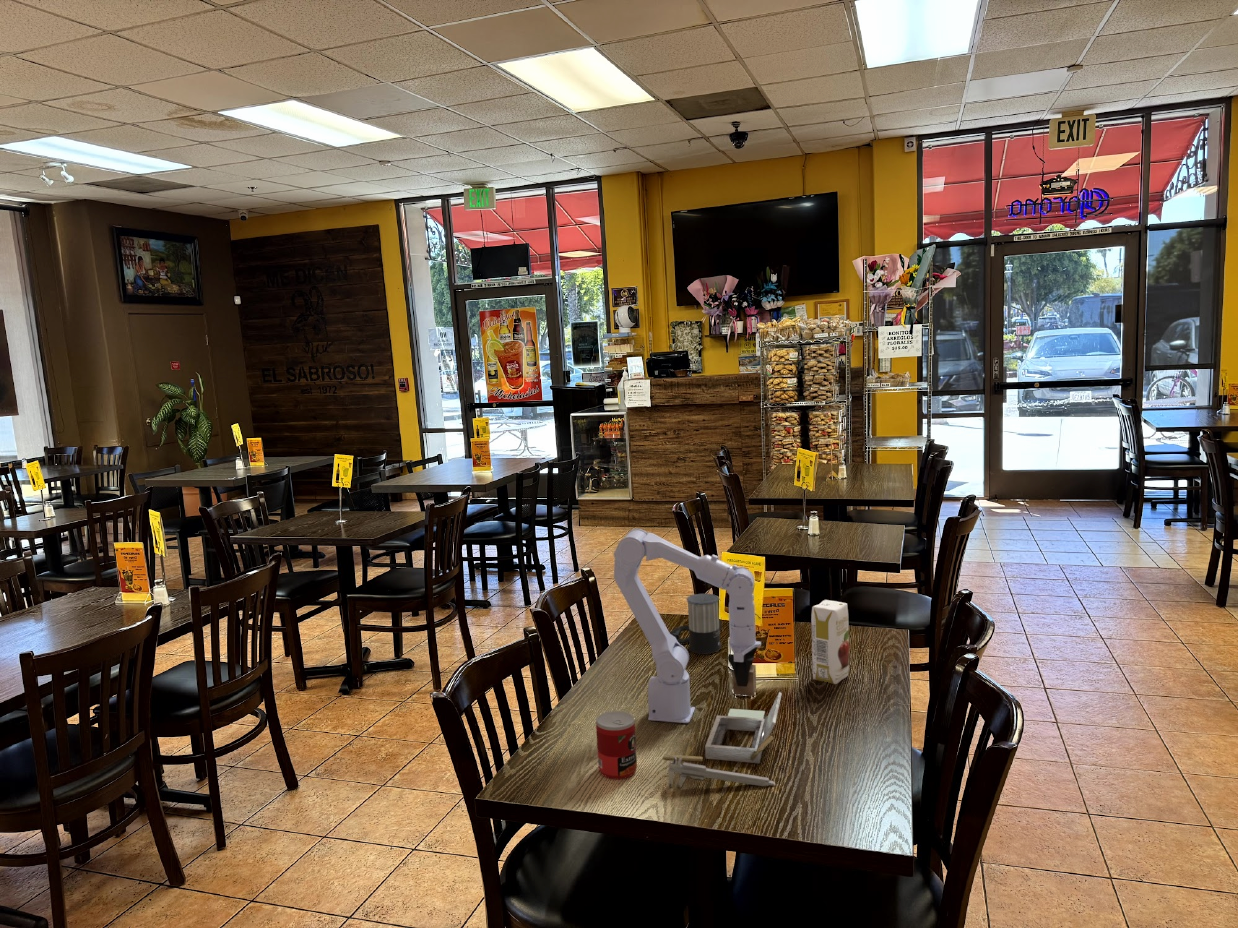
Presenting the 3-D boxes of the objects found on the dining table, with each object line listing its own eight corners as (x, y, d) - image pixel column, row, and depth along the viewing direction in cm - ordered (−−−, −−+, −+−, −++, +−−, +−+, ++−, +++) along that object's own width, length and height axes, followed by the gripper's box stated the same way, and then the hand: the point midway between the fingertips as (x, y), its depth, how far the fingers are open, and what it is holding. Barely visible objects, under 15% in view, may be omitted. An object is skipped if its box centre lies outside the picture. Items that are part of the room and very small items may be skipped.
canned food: (624, 783, 163) (622, 730, 161) (590, 774, 167) (587, 722, 165) (644, 766, 169) (642, 714, 168) (611, 757, 173) (608, 707, 172)
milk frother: (719, 655, 228) (717, 603, 226) (662, 653, 232) (660, 602, 230) (725, 638, 242) (723, 588, 240) (671, 636, 246) (669, 587, 244)
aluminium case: (705, 758, 171) (705, 746, 170) (717, 726, 185) (717, 715, 185) (759, 763, 168) (759, 750, 167) (767, 730, 182) (767, 718, 182)
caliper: (668, 789, 160) (667, 758, 159) (668, 786, 161) (667, 755, 160) (775, 786, 159) (774, 755, 158) (774, 784, 160) (774, 753, 159)
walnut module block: (733, 694, 186) (732, 669, 185) (736, 686, 190) (735, 661, 189) (753, 695, 185) (753, 670, 184) (756, 687, 189) (755, 663, 188)
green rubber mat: (724, 724, 186) (724, 723, 186) (730, 709, 193) (730, 708, 193) (760, 727, 183) (760, 726, 183) (764, 712, 191) (764, 711, 191)
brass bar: (663, 760, 172) (663, 756, 172) (664, 758, 173) (664, 754, 172) (702, 763, 170) (702, 758, 170) (702, 760, 171) (702, 756, 171)
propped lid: (749, 760, 167) (748, 722, 166) (758, 725, 182) (757, 690, 181) (775, 763, 166) (774, 724, 165) (782, 727, 181) (781, 691, 180)
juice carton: (809, 679, 208) (807, 606, 206) (825, 669, 215) (823, 597, 212) (837, 686, 203) (835, 611, 201) (852, 675, 210) (851, 602, 207)
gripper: (756, 634, 177) (758, 695, 179) (763, 613, 191) (765, 670, 193) (723, 633, 179) (725, 693, 181) (733, 612, 193) (735, 668, 195)
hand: (743, 681), depth 187 cm, fingers closed on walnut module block, 4 cm apart
